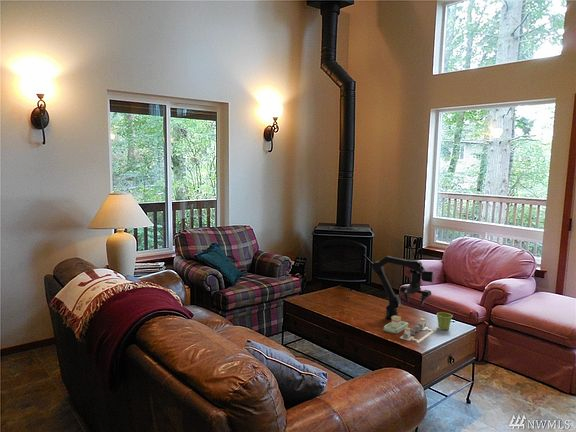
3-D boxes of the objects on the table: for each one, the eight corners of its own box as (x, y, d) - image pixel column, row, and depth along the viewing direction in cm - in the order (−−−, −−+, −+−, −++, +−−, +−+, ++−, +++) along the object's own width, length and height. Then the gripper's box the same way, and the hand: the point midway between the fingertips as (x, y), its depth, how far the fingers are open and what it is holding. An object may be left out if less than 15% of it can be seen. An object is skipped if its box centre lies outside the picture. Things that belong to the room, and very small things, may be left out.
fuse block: (399, 338, 238) (400, 328, 237) (419, 325, 258) (419, 316, 258) (418, 343, 231) (419, 333, 230) (436, 330, 251) (437, 321, 250)
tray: (383, 330, 249) (383, 326, 249) (395, 323, 262) (395, 319, 262) (396, 334, 244) (396, 330, 243) (408, 326, 256) (408, 322, 256)
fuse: (390, 327, 252) (391, 316, 252) (394, 325, 256) (394, 315, 255) (397, 329, 250) (398, 318, 249) (400, 327, 253) (401, 316, 252)
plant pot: (433, 328, 254) (433, 314, 254) (439, 324, 261) (440, 311, 260) (448, 332, 248) (449, 318, 247) (454, 328, 255) (455, 314, 254)
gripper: (396, 279, 261) (395, 303, 263) (425, 285, 249) (423, 310, 251) (404, 276, 270) (403, 300, 271) (432, 282, 258) (430, 306, 259)
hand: (414, 304), depth 263 cm, fingers open, 9 cm apart
